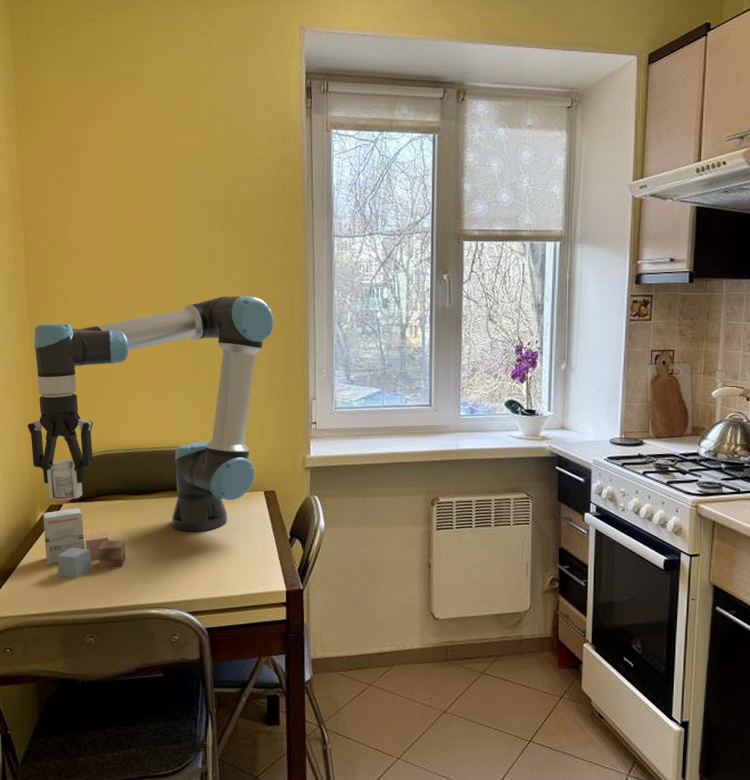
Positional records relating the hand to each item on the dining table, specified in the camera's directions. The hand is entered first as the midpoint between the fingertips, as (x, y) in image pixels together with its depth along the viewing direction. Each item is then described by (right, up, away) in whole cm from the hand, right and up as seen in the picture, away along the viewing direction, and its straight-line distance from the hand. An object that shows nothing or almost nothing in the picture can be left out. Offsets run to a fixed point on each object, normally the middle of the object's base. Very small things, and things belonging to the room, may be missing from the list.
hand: (66, 496), depth 150 cm
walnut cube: (+6, -18, +12) cm, 23 cm away
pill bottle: (0, 0, 0) cm, 1 cm away
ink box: (-7, -18, +16) cm, 25 cm away
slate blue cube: (-1, -19, +7) cm, 20 cm away
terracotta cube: (0, -17, +18) cm, 25 cm away
